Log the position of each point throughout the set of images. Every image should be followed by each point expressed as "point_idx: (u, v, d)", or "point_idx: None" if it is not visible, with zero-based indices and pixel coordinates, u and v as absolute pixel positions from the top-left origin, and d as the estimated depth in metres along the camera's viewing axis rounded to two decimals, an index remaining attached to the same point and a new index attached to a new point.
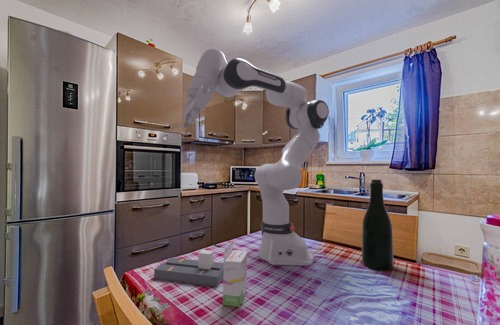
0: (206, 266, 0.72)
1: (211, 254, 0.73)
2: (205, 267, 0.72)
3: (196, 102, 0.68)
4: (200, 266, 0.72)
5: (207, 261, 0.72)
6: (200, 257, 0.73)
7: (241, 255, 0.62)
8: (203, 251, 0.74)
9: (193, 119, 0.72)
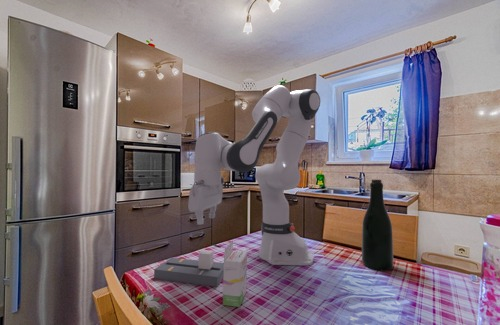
0: (206, 266, 0.72)
1: (211, 254, 0.73)
2: (205, 267, 0.72)
3: (189, 209, 0.65)
4: (200, 266, 0.72)
5: (207, 261, 0.72)
6: (200, 257, 0.73)
7: (241, 255, 0.62)
8: (203, 251, 0.74)
9: (200, 220, 0.69)
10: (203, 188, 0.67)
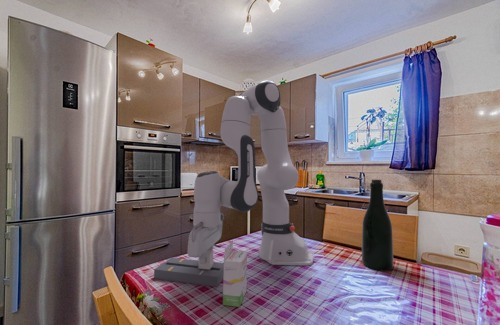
0: (206, 266, 0.72)
1: (211, 254, 0.73)
2: (205, 267, 0.72)
3: (188, 255, 0.65)
4: (200, 266, 0.72)
5: (207, 261, 0.72)
6: None
7: (241, 255, 0.62)
8: None
9: (203, 260, 0.71)
10: (202, 232, 0.67)
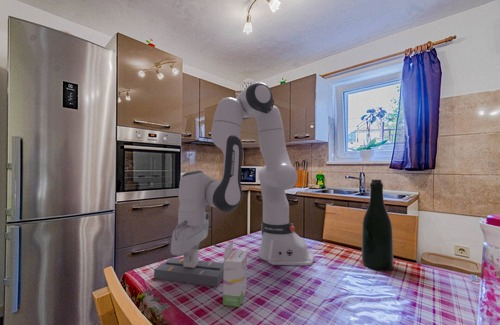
0: (191, 264, 0.73)
1: (196, 252, 0.74)
2: (190, 265, 0.73)
3: (171, 253, 0.66)
4: (185, 264, 0.74)
5: (191, 259, 0.73)
6: None
7: (241, 255, 0.62)
8: None
9: (187, 258, 0.72)
10: (186, 231, 0.68)
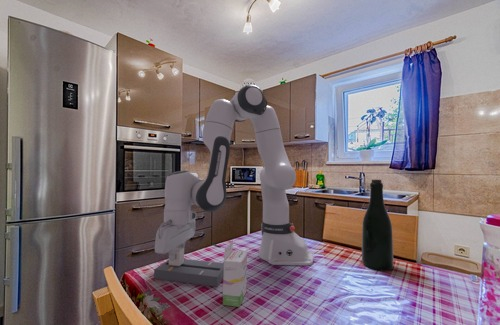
0: (176, 263, 0.74)
1: (181, 251, 0.75)
2: (175, 264, 0.74)
3: (155, 251, 0.67)
4: (170, 263, 0.75)
5: (177, 257, 0.74)
6: None
7: (241, 255, 0.62)
8: None
9: (172, 257, 0.73)
10: (170, 230, 0.69)
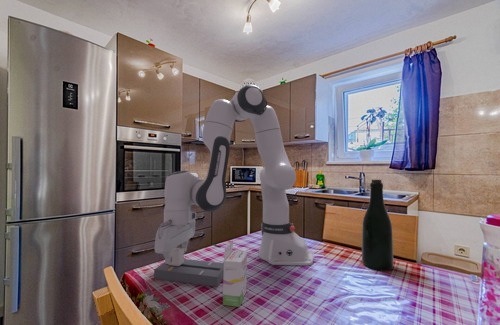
0: (176, 263, 0.74)
1: (181, 251, 0.75)
2: (175, 264, 0.74)
3: (155, 251, 0.67)
4: (170, 263, 0.75)
5: (176, 257, 0.74)
6: (170, 254, 0.75)
7: (241, 255, 0.62)
8: (174, 248, 0.76)
9: (168, 260, 0.71)
10: (170, 230, 0.69)
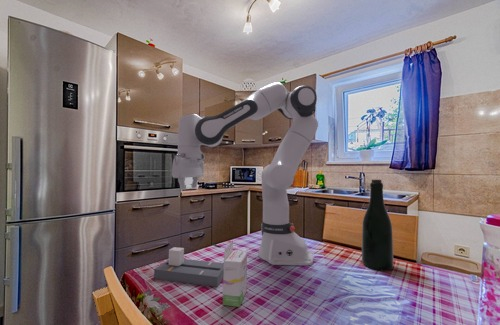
0: (176, 263, 0.74)
1: (181, 251, 0.75)
2: (175, 264, 0.74)
3: (172, 175, 0.79)
4: (170, 263, 0.75)
5: (176, 257, 0.74)
6: (170, 254, 0.75)
7: (241, 255, 0.62)
8: (174, 248, 0.76)
9: (182, 186, 0.83)
10: (184, 159, 0.81)
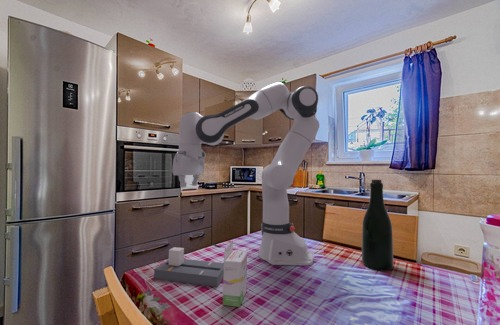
0: (176, 263, 0.74)
1: (181, 251, 0.75)
2: (175, 264, 0.74)
3: (173, 173, 0.80)
4: (170, 263, 0.75)
5: (176, 257, 0.74)
6: (170, 254, 0.75)
7: (241, 255, 0.62)
8: (174, 248, 0.76)
9: (183, 184, 0.84)
10: (185, 157, 0.82)
